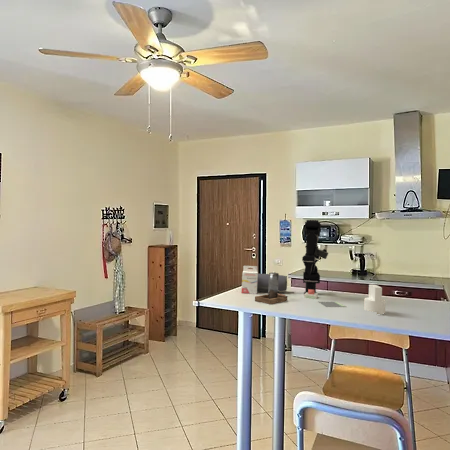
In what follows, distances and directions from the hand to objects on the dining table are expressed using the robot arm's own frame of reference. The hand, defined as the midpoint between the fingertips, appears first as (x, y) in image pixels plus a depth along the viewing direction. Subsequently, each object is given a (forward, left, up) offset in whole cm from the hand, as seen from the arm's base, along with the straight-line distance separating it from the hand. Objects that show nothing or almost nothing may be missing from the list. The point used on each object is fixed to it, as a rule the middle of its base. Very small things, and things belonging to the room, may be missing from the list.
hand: (310, 273), depth 212 cm
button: (+3, +1, -10) cm, 10 cm away
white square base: (+3, +1, -13) cm, 13 cm away
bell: (+16, -16, -12) cm, 26 cm away
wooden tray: (+17, -17, -13) cm, 27 cm away
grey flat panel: (+16, +13, -13) cm, 24 cm away
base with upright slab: (+19, +32, -13) cm, 39 cm away
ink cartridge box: (+1, -33, -13) cm, 36 cm away
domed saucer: (+3, -16, -13) cm, 21 cm away
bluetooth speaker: (-8, -26, -13) cm, 30 cm away
